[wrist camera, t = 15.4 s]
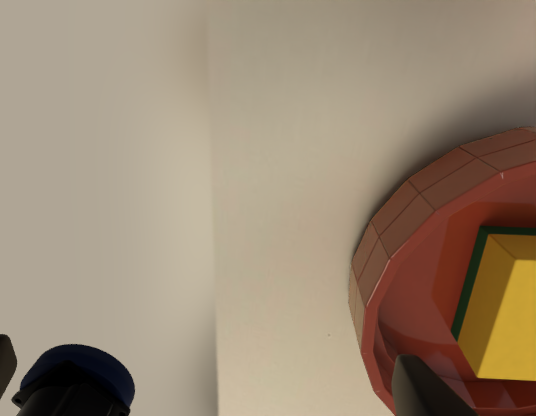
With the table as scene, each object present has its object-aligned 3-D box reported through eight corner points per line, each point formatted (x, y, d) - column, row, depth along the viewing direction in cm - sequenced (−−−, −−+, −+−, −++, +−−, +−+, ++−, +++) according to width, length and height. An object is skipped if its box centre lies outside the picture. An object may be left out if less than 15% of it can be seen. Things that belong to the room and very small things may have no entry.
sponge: (529, 335, 22) (569, 383, 19) (450, 331, 22) (476, 378, 19) (570, 228, 19) (625, 264, 16) (479, 225, 19) (516, 259, 16)
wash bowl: (435, 422, 26) (463, 493, 22) (288, 248, 21) (289, 297, 17) (711, 304, 21) (813, 367, 17) (606, 44, 16) (713, 43, 12)
